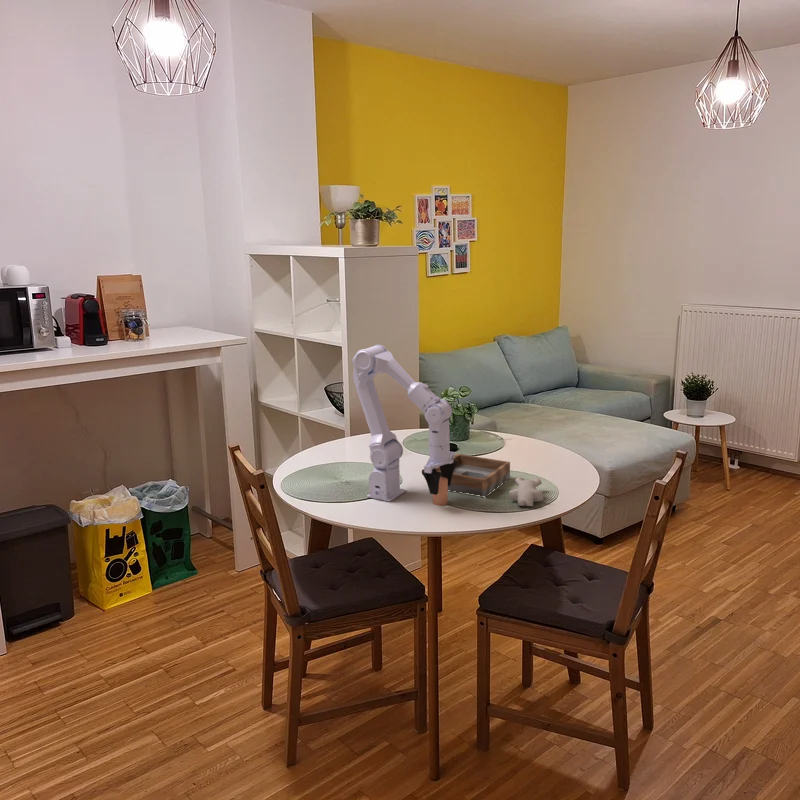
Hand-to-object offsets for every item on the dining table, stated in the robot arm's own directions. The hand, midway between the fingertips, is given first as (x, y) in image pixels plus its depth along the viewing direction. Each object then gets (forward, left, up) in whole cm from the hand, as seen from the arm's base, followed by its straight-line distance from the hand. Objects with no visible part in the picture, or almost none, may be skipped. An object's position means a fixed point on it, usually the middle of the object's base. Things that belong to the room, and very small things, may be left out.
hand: (440, 489), depth 208 cm
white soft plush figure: (+14, -20, -4) cm, 25 cm away
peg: (0, 0, -4) cm, 4 cm away
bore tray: (+18, -1, -4) cm, 18 cm away
